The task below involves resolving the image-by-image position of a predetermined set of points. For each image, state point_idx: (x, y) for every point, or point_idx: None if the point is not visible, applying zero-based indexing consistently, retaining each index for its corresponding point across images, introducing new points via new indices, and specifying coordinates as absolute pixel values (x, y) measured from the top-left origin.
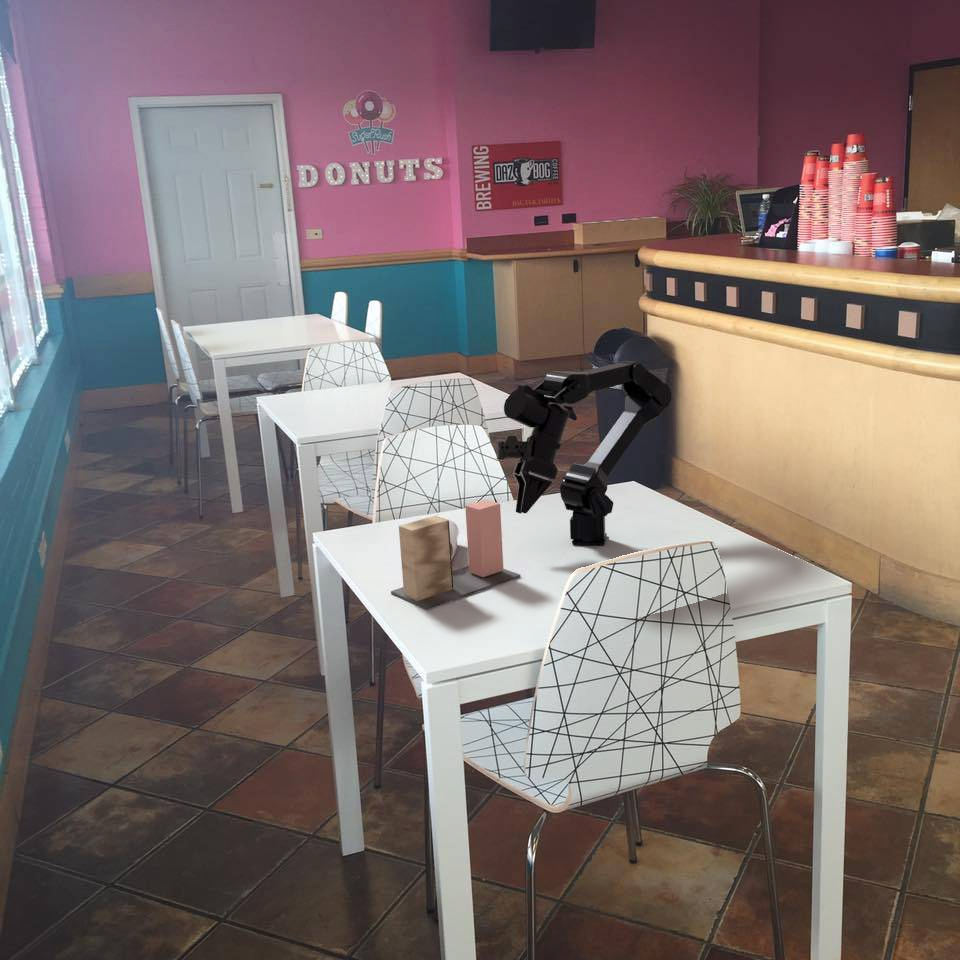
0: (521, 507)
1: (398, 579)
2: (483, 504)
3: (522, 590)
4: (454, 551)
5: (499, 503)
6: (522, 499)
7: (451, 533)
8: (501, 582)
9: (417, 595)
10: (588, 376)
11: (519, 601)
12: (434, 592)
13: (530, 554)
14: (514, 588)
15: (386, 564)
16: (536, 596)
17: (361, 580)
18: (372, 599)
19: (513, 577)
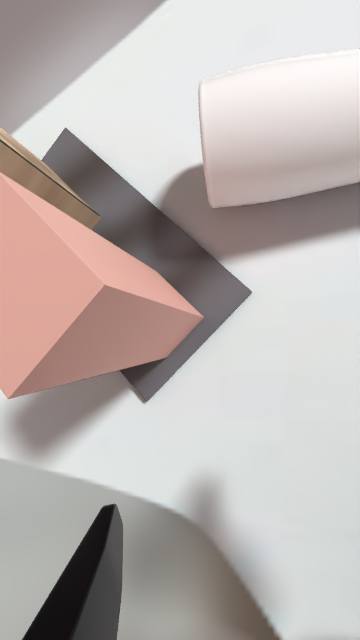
0: (94, 525)
1: (146, 113)
2: (2, 284)
3: (75, 405)
4: (212, 204)
5: (9, 394)
6: (88, 579)
7: (281, 152)
8: None
9: None
10: None
11: (24, 399)
12: None
13: (336, 427)
14: (86, 387)
15: (251, 35)
16: (45, 434)
17: (143, 33)
18: (46, 107)
19: (132, 384)
